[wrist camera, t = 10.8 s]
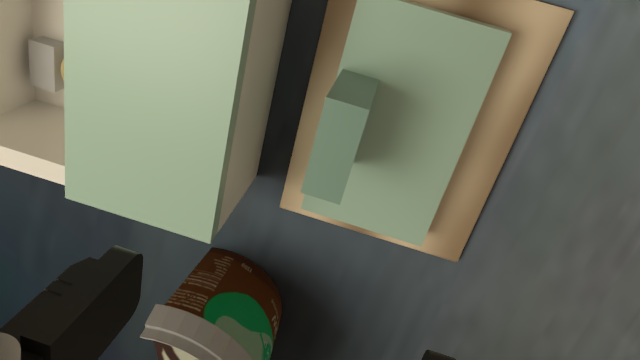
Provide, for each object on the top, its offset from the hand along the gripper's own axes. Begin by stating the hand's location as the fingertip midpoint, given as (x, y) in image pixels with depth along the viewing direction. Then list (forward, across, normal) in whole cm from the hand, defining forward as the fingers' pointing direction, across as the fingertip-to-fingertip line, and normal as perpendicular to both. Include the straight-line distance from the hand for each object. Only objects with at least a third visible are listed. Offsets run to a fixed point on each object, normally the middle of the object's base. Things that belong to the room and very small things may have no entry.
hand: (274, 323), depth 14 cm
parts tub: (+18, +13, 0) cm, 22 cm away
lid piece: (+18, -2, 0) cm, 18 cm away
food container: (+18, +4, +17) cm, 25 cm away
